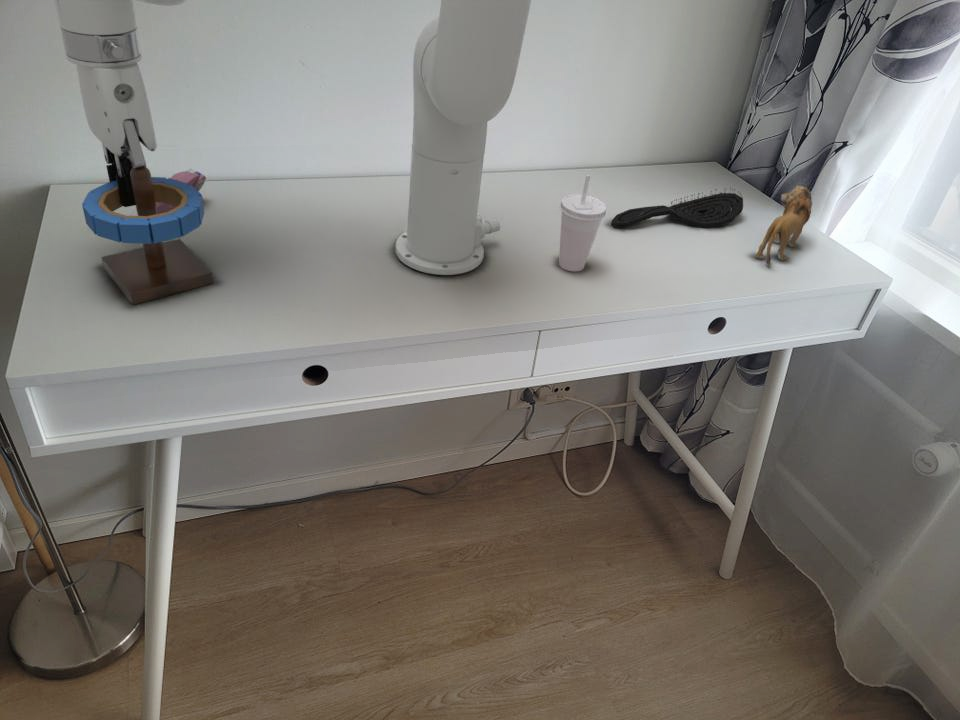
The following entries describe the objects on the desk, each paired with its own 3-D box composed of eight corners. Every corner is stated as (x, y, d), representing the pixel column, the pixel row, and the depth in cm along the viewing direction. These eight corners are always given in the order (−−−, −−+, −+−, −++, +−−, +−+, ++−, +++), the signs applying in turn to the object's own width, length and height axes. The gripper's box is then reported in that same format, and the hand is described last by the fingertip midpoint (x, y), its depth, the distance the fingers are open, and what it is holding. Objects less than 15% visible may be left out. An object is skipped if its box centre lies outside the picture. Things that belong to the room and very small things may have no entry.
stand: (181, 249, 100) (165, 143, 91) (213, 283, 94) (199, 174, 86) (103, 267, 95) (78, 157, 86) (132, 305, 89) (108, 190, 80)
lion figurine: (769, 228, 126) (788, 178, 120) (801, 238, 124) (821, 187, 118) (750, 262, 115) (770, 209, 109) (785, 274, 113) (807, 220, 108)
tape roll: (177, 187, 97) (175, 169, 96) (221, 228, 90) (219, 210, 88) (72, 207, 90) (68, 188, 88) (110, 253, 82) (106, 234, 81)
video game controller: (166, 235, 106) (180, 198, 102) (136, 216, 105) (150, 179, 101) (200, 206, 113) (215, 171, 109) (173, 189, 113) (188, 153, 109)
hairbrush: (602, 198, 121) (726, 180, 129) (598, 219, 123) (720, 200, 132) (629, 222, 115) (757, 202, 124) (624, 243, 117) (751, 221, 126)
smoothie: (541, 265, 107) (557, 173, 99) (562, 249, 112) (580, 160, 103) (580, 281, 105) (600, 188, 96) (600, 264, 109) (621, 174, 101)
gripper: (165, 62, 79) (187, 219, 90) (112, 22, 88) (137, 169, 99) (90, 69, 75) (123, 233, 86) (42, 27, 84) (77, 180, 95)
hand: (130, 197), depth 93 cm, fingers closed on tape roll, 2 cm apart
